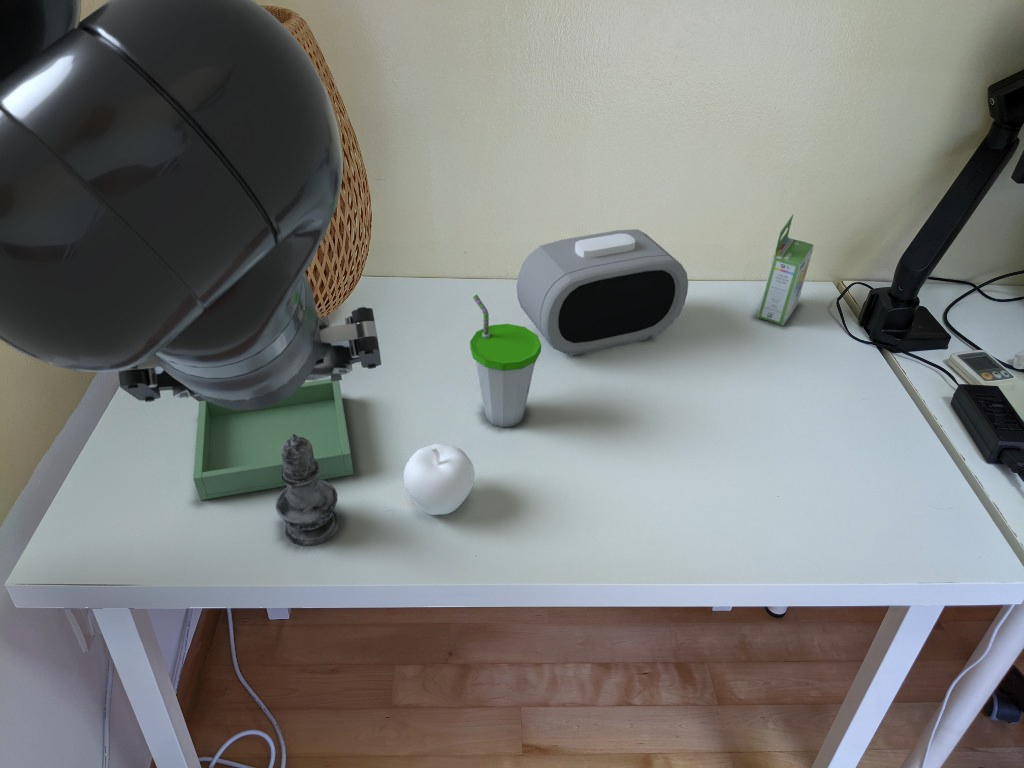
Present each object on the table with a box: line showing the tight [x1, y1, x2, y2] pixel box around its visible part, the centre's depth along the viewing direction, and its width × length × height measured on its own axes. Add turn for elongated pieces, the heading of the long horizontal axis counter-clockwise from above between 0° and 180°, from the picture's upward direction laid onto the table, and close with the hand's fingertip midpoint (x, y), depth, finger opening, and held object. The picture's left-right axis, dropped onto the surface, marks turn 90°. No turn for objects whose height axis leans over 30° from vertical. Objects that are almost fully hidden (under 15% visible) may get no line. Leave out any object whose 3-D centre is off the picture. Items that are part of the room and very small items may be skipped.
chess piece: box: [274, 434, 339, 547], centre depth 73 cm, size 6×6×12 cm
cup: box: [469, 293, 542, 428], centre depth 87 cm, size 8×8×15 cm
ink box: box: [757, 214, 815, 326], centre depth 107 cm, size 7×4×13 cm, turn 148°
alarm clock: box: [516, 228, 689, 357], centre depth 102 cm, size 21×10×13 cm, turn 112°
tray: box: [192, 378, 354, 501], centre depth 85 cm, size 16×14×3 cm
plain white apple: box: [403, 442, 476, 516], centre depth 77 cm, size 7×7×8 cm
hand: (269, 375), depth 52 cm, fingers open, 8 cm apart
